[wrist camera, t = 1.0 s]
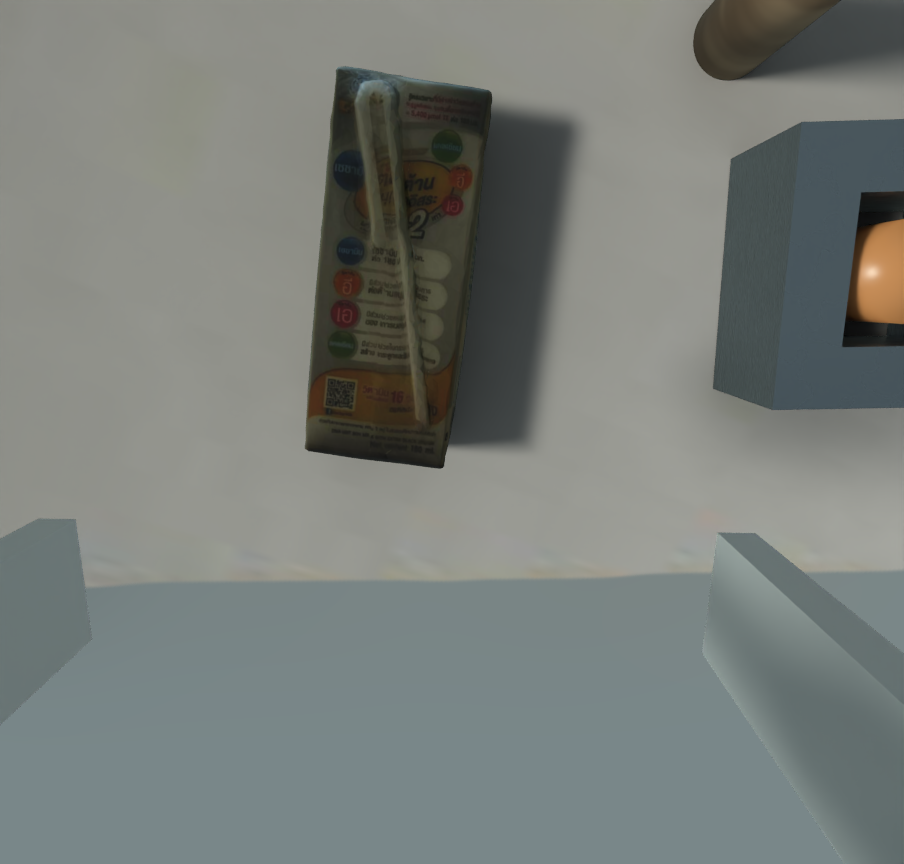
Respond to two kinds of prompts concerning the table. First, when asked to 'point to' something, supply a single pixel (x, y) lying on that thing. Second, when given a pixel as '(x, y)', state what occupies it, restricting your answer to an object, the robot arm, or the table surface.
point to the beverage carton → (395, 266)
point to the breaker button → (877, 274)
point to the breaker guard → (806, 268)
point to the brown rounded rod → (750, 32)
